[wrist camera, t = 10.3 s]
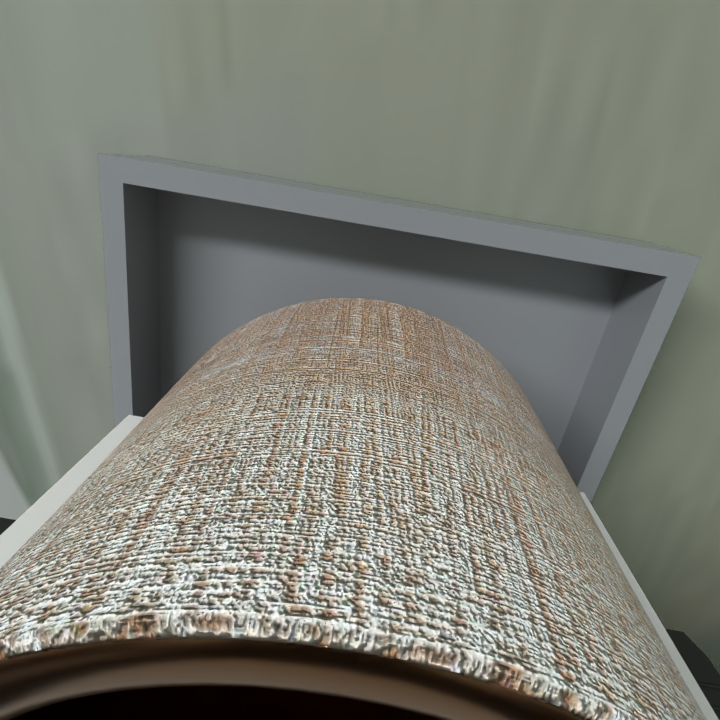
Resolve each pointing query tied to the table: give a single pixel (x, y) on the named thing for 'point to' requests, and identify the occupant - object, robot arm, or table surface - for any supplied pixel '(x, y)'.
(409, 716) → the planter
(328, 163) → the table surface
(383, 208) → the tray
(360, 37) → the table surface
